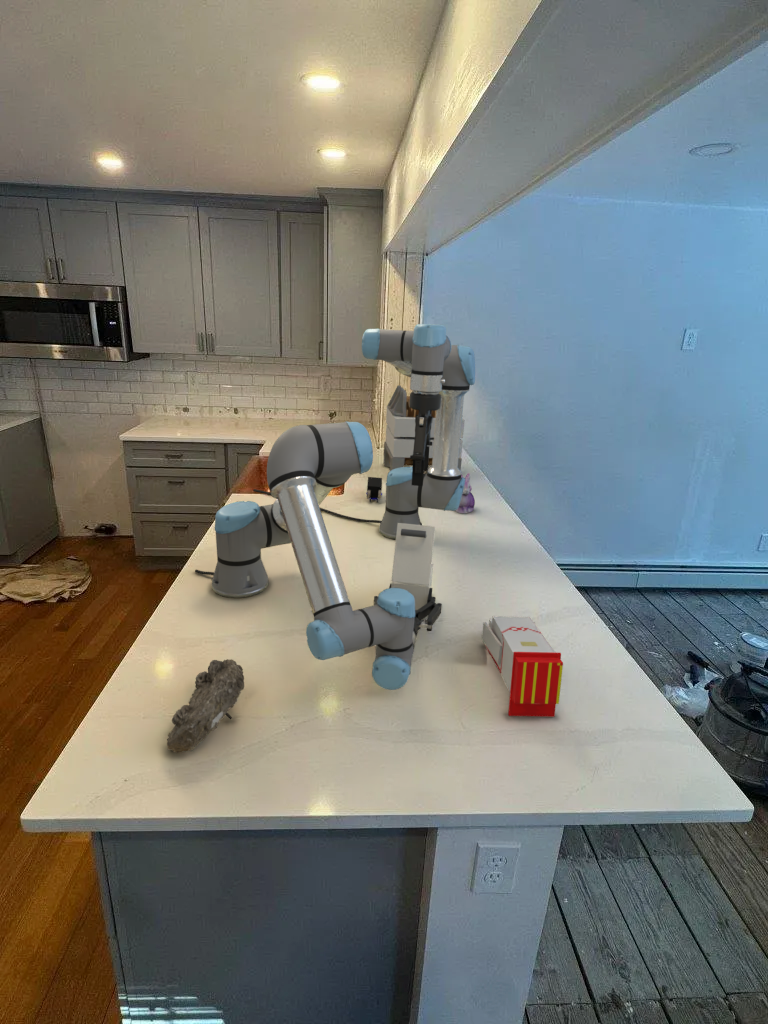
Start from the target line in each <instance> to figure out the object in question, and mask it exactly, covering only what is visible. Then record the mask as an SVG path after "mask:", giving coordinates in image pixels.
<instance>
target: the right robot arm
mask: <svg viewBox="0 0 768 1024" xmlns="http://www.w3.org/2000/svg"><path fill="white" fill-rule="evenodd" d="M361 352H362V353H361V354H362V356H363V357H364V359H367V360H373V361H383V362H385V363H387V364H389V365H391V366H393V367H394V368H395V370H396V371H397V372H398V373H399V374H401V375H403V376H406V377H408V378H410V382H409V384H410V386H409V390H410V391H411V392H410V393H409V396H410V401H409V406H410V408H412V409H415V410H419V415H417V416H416V417H415V424H416V425H415V440H414V450H413V455H410V459H413V466H404V467H401V468H396V469H393V470H391V471H390V470H389V472H388V473H387V475H386V482H385V504H384V505H385V507H384V508H385V509H384V513H383V515H382V519H381V520H379V519H365V518H358V517H354V516H353V517H352V516H348V515H344V514H340V513H337V512H335V511H332V510H328V509H325V508H323V507H321V506H319V508H320V511H321V512H324V513H327V514H330V515H333V516H336V517H339V518H342V519H346V520H350V521H354V522H361V523H367V524H369V523H371V524H379V526H378V533H379V534H380V535H381V536H382V537H385V538H387V539H389V540H395V541H396V534H397V525H398V523H404V524H414V525H423V523H422V522H421V518H420V515H419V508H422V509H430V510H431V509H432V510H440V511H444V512H445V511H447V512H449V511H451V512H456V510H457V509H458V507H459V505H460V501H461V497H462V494H463V489H464V485H465V477H464V476H463V477H464V478H463V477H462V478H461V474H462V470H461V471H460V469H459V468H458V457H459V446H460V439H461V438H460V435H461V424H462V419H463V410H464V402H465V401H464V400H465V395H466V394H467V393H468V392H469V391H470V388H471V386H474V385H475V383H476V357H475V351H474V349H473V348H472V347H470V346H466V345H460V344H452V342H451V339H450V337H449V336H448V335H447V328H446V326H445V325H443V324H433V323H431V324H430V323H417V324H416V325H415V326H414V328H413V330H401V329H400V330H399V329H387V328H367V329H365V331H364V332H363V334H362V339H361ZM432 411H436V419H435V432H434V446H433V459H432V465H430V466H429V465H428V461H429V447H430V446H432V442H430V440H431V438H430V431H431V426H432V420H433V416H431V412H432ZM427 445H428V446H427ZM417 453H418V454H417ZM425 472H426V473H425ZM462 475H463V474H462ZM252 490H253V492H255V493H259V494H263V495H269V496H272V495H271V493H270V491H265V490H260V489H256V488H253V489H252Z"/></svg>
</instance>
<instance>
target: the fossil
mask: <svg viewBox="0 0 768 1024" xmlns="http://www.w3.org/2000/svg"><path fill="white" fill-rule="evenodd" d="M243 670H244V669H243V667H242V665H240V664H237V662H236V661H235V660H234V659H232V658H231V659H227V658H226V659H224V660H223V661H222V660H217V659H212V660H211V661H210V663H209V665H208V666H207V671H201V672H199V673H198V674H197V675H196V676H195V680H194V684H195V685H194V687H195V689H194V690H193V693H192V694H191V697H190V698H189V700H188V704H184V705H182V706H181V707H180V709H177V710H176V711H175V713H174V715H173V716H172V718H171V723H172V724H173V727H172V730H171V731H170V732H168V734H167V738H166V741H167V742H166V745H167V749H168V750H169V751H173V752H174V753H176V754H178V753H182V752H188V751H189V752H192V751H193V750H195V748H196V747H197V746H199V744H200V743H201V742H203V741H204V740H205V739H206V738H207V737H208V736H209V735H210V734H211V733H212V732H214V730H215V729H217V727H218V726H219V724H220V722H221V721H222V720H223V719H224V718H225V716H226V717H227V719H229V720H233V717H232V715H230V714H229V710H230V709H231V708H234V706H235V704H236V703H237V702H238V699H239V697H240V695H241V693H242V691H243V690H245V689H244V688H245V675H244V671H243Z"/></svg>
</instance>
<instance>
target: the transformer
mask: <svg viewBox="0 0 768 1024" xmlns="http://www.w3.org/2000/svg"><path fill="white" fill-rule="evenodd" d="M407 394H408V393H407V390H406V389H404V388H403V387H402V385H399V384H398V385H397V386H396V388H395V390H394V392H393V394H392V395H391V398H390V400H389V402H388V404H387V405H386V413H385V414H386V415H385V423H386V428H385V438H384V442H383V466H384V467H388V468H389V472H390V471H391V470H393V469H396V468H401V467H405V466H406V467H413V459H410V455H413V450H414V440H415V425H416V424H415V417H416V416H417V415H419V410H415V409H412V408H410V406H409V401H410V395H407ZM431 416H433V420H432V426H431V431H430V438H431V440H430V442H432V446H430V447H429V461H428V467H431V466H432V459H433V446H434V432H435V419H436V411H432V412H431ZM464 429H465V419H464V418H462V424H461V435H460V446H459V457H458V468H459V469H460V471H461V472H462V461H463V460H462V453H463V442H464V441H463V440H462V439H463V438H464V431H465V430H464ZM427 446H428V445H427ZM417 454H418V453H417Z"/></svg>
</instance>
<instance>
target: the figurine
mask: <svg viewBox="0 0 768 1024" xmlns="http://www.w3.org/2000/svg"><path fill="white" fill-rule="evenodd" d="M462 477H463V478H465V485H464V489H463V494H462V497H461V501H460V505H459V507H458V509H457V510H455V512H456V513H458V514H467V513H469V514H470V513H472V512H473V511H474V509H475V505H476V501H475V497H474V494H473V493H472V490H473V488H472V485H471V482H470V478H471V473H470V472H467V474H466V475H465V476H463V474H461V478H462Z"/></svg>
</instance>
